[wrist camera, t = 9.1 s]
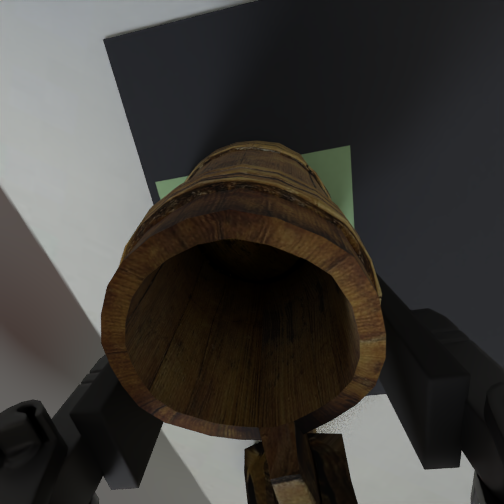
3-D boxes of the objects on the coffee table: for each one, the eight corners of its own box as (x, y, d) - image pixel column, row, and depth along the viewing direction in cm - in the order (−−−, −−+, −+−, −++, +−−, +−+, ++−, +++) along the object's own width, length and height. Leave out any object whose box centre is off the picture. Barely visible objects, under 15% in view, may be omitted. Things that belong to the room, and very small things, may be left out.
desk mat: (104, 40, 13) (102, 39, 13) (602, -86, 11) (605, -88, 11) (216, 408, 22) (216, 409, 22) (511, 381, 19) (512, 382, 19)
